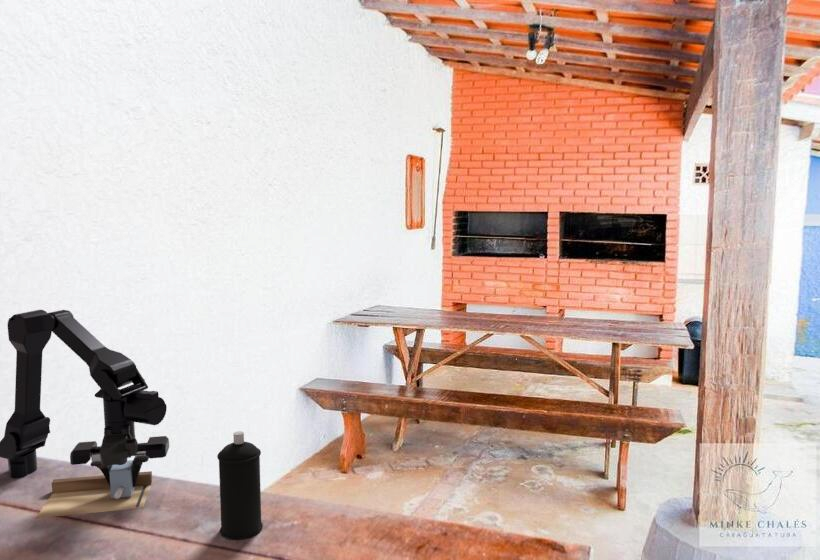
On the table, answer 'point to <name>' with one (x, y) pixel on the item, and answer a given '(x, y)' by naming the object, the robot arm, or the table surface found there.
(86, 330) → the robot arm
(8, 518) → the table surface
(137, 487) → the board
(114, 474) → the block
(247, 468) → the aerosol can
